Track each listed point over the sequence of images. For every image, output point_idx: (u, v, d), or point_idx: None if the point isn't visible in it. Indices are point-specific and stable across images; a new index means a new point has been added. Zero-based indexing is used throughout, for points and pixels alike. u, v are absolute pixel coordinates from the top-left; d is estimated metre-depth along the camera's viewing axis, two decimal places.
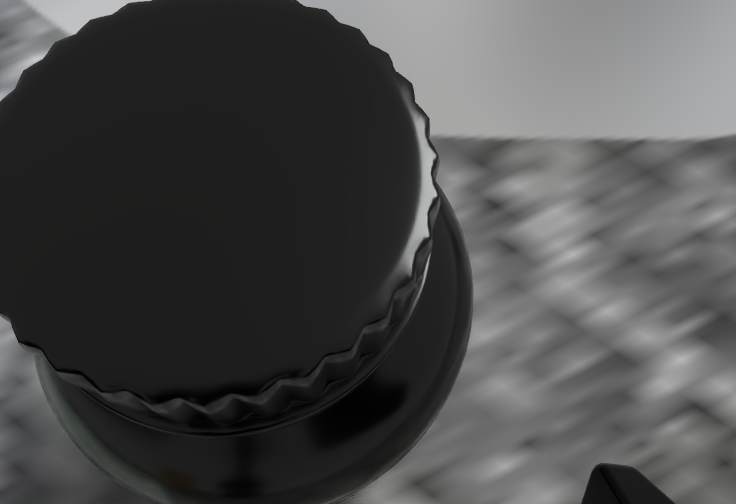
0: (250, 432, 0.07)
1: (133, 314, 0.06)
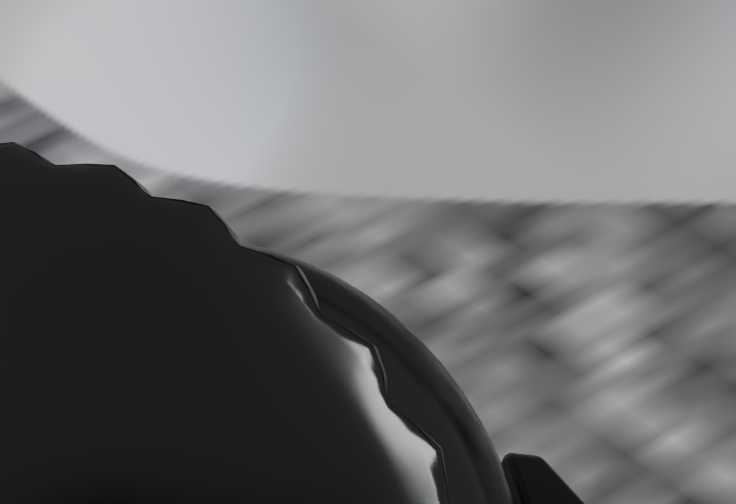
0: None
1: None
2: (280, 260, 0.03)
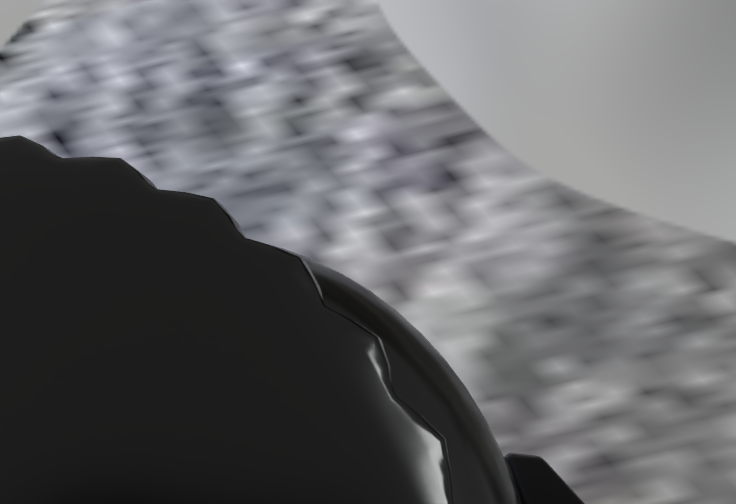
0: None
1: None
2: (285, 252, 0.03)
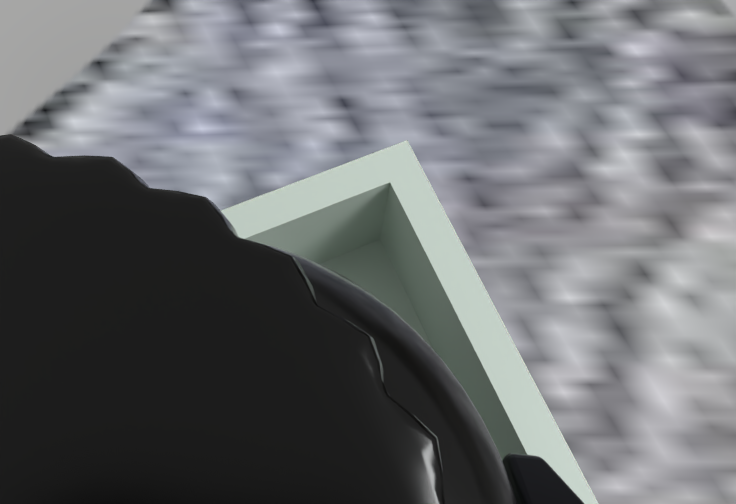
0: None
1: None
2: (277, 251, 0.03)
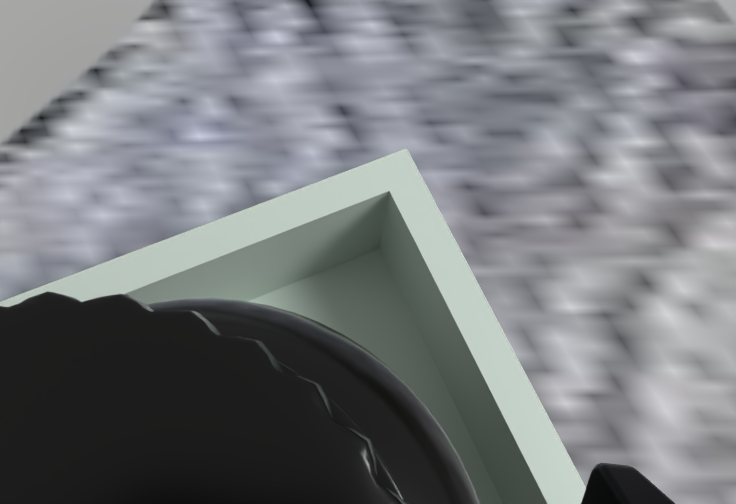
0: None
1: None
2: (305, 380, 0.04)
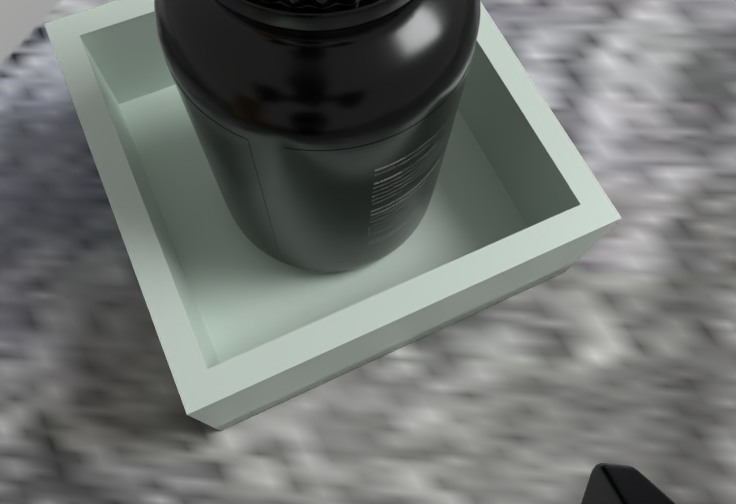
0: (336, 13, 0.10)
1: None
2: None
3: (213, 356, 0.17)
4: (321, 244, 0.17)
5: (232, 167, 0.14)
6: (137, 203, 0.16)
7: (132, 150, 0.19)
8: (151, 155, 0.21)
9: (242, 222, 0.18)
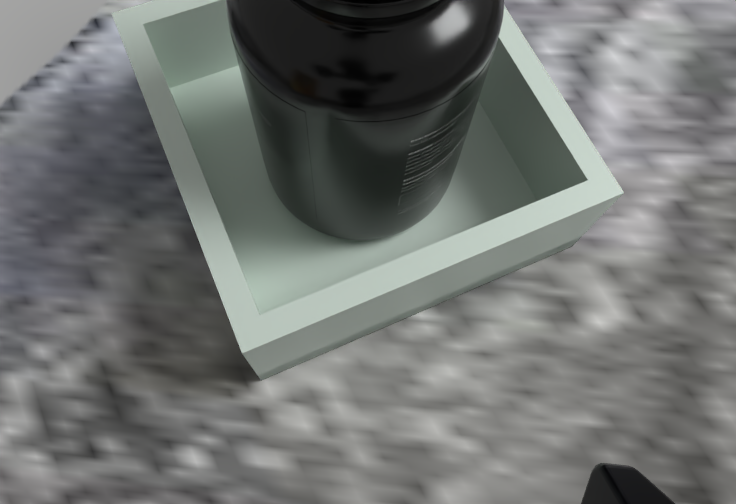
0: (389, 3, 0.12)
1: None
2: None
3: (258, 310, 0.20)
4: (356, 212, 0.19)
5: (286, 139, 0.16)
6: (196, 171, 0.19)
7: (185, 128, 0.22)
8: (200, 134, 0.23)
9: (285, 193, 0.20)
